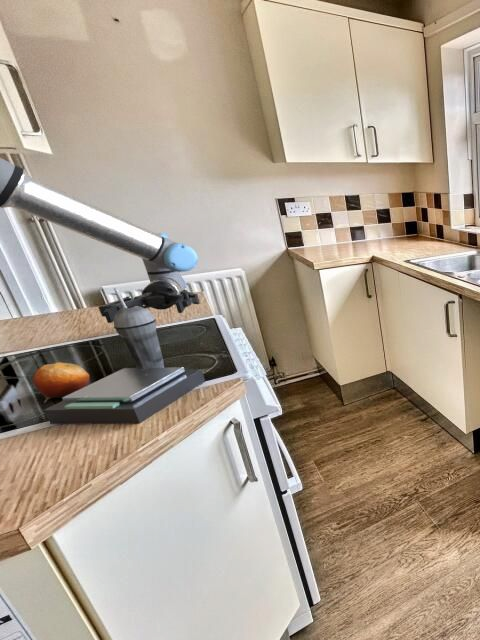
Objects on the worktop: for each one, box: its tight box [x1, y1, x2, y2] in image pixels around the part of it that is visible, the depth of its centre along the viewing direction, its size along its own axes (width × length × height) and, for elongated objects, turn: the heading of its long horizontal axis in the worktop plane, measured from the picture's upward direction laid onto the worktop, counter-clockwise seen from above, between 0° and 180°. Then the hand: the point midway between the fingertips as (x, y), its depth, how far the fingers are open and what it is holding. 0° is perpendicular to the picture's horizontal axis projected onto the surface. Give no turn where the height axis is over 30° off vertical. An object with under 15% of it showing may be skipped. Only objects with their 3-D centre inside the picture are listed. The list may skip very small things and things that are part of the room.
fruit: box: [32, 361, 90, 404], centre depth 87 cm, size 8×8×8 cm
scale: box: [43, 368, 206, 425], centre depth 84 cm, size 17×17×4 cm
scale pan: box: [61, 366, 185, 402], centre depth 83 cm, size 13×13×1 cm
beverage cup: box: [113, 287, 165, 368], centre depth 95 cm, size 7×7×20 cm
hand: (144, 312), depth 102 cm, fingers open, 13 cm apart
